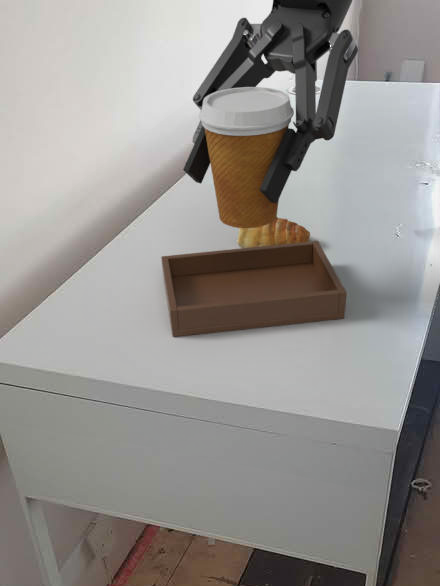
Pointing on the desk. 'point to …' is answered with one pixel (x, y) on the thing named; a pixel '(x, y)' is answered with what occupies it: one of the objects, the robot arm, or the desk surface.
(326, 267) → the serving tray
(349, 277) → the desk surface
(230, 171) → the disposable coffee cup
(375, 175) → the desk surface
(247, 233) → the pastry
